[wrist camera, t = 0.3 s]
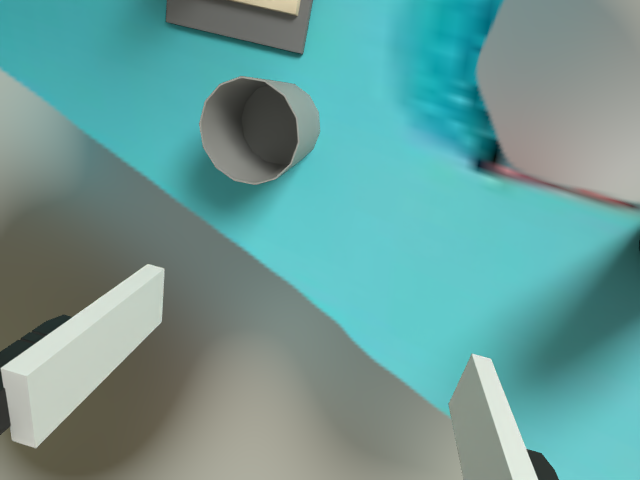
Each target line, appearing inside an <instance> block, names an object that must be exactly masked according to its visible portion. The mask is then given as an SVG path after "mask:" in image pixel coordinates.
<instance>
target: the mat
mask: <svg viewBox="0 0 640 480" xmlns="http://www.w3.org/2000/svg"><path fill="white" fill-rule="evenodd" d="M312 2H313V0H301V1H300V6H299V12H298V16H295V15H291V14H286V13H282V12H278V11H273V10H269V9H264V8H260V7H256V6H251V5H247V4H242V3H238V2H233V1H229V0H167V10H166V22H168V23H172V24H177V25H181V26H185V27H189V28H194V29H198V30H202V31H206V32H211V33H215V34H219V35H223V36H228V37H232V38H236V39H241V40H245V41H249V42H253V43H258V44H262V45H266V46H270V47H275V48H279V49H283V50H287V51H292V52H296V53H300V54H303V52H304V46H305V41H306V35H307V30H308V24H309V19H310V13H311V8H312Z"/></svg>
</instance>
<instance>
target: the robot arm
mask: <svg viewBox="0 0 640 480" xmlns="http://www.w3.org/2000/svg"><path fill="white" fill-rule="evenodd" d="M163 287H164V268H160V267H156V266H153V265H149V264H147V265H146V266H144V267H143V268H141V269H140V270H139V271H137V272H136V273H134V274H133V275H132V276H130V277H129V278H127V279H126V280H124V281H123V282H122V283H120V284H119V285H118V286H116V287H115V288H113V289H112V290H110V291H109V292H108V293H106V294H105V295H103V296H102V297H100V298H99V299H98V300H96V301H95V302H94V303H92V304H91V305H89V306H88V307H87V308H85V309H84V310H82V311H81V312H79V313H78V314H76V315H75V316H74V317H70V316H67V315H62V316H59V317H56V318H54V319H51V320H48V321H46V322H44V323H43V324H41V325H40V326H38V327H37V328H35V329H34V330H33V331H32V332H31V333H30V332H29V333H28V334H26V335H25V336H24V337H22V338H21V340H17V341H16V342H14V343H13V344H11V345H10V346H8V347H7V348H5V349H4V350H2V351H1V352H0V435H1V434H2V433H3V432H4V431H5V430H6V429H7V428H9V427H10V431H11V437H12V441H15V442H18V443H21V444H24V445H27V446H30V447H33V448H37V447H38V446H39V444H41V442H43V440H44V439H46V438H47V436H49V434H50V433H52V432H53V430H54V429H56V427H57V426H58V425H59V424H60V423H61V422H62V421H63V420H64V419H65V418H66V417H67V416H68V415H69V414H70V413H71V412H72V411H73V410H74V409H75V408H76V407H77V406H78V405H79V404H80V403H81V402H82V401H83V400H84V399H85V398H86V397H87V396H88V395H89V394H90V393H91V392H92V391H93V390H94V389H95V388H96V387H97V386H98V385H99V384H100V383H101V382H102V381H103V380H104V379H105V378H106V377H107V376H108V375H109V374H110V373H111V372H112V371H113V370H114V369H115V368H116V367H117V366H118V365H119V364H120V363H121V362H122V361H123V360H124V359H125V358H126V357H127V356H128V355H129V354H130V353H131V352H132V351H133V350H134V349H135V348H136V347H137V346H138V345H139V344H140V343H141V342H142V341H143V340H144V339H145V338H146V337H147V336H148V335H149V334H150V333H151V332H152V331H153V330H154V329H155V328H156V327H157V326H158V325H159V324H160V323H161V322H162V306H163ZM449 409H450V414H451V419H452V424H453V429H454V434H455V439H456V444H457V449H458V454H459V460H460V465H461V470H462V475H463V480H559V479H558V477H557V474H556V472H555V470H554V469H553V467H552V466H551V465H550V464H549V462H548V461H547V460H546V458H545V457H544V456H543V455H542V453H539V452H535V451H532V450H528V449H526V447H525V445H524V442H523V440H522V437H521V434H520V432H519V429H518V427H517V424H516V422H515V419H514V416H513V414H512V411H511V409H510V406H509V404H508V401H507V399H506V396H505V393H504V391H503V388H502V386H501V383H500V381H499V378H498V375H497V373H496V370H495V368H494V365H493V363H492V360H491V359H490V358H486V357H482V356H479V355H475V354H471V356H470V359H469V361H468V363H467V365H466V367H465V369H464V372H463V374H462V376H461V378H460V380H459V383H458V385H457V387H456V389H455V391H454V393H453V396H452V398H451V400H450V402H449Z"/></svg>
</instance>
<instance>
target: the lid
mask: <svg viewBox="0 0 640 480" xmlns="http://www.w3.org/2000/svg"><path fill="white" fill-rule="evenodd" d="M229 1H233V2H238V3H242V4H247V5H251V6H256V7H260V8H264V9H269V10H273V11H278V12H282V13H286V14H291V15H295V16H298V12H299V6H300V1H301V0H229Z"/></svg>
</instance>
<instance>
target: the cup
mask: <svg viewBox="0 0 640 480" xmlns="http://www.w3.org/2000/svg"><path fill="white" fill-rule="evenodd" d="M199 126H200V132H201V138H202V144H203V148H204V150H205V151H206V153H207V154H208V156H209V158H210V159H211V161H212V162H213V164H214V166H215V167H216V168H217V169H218V170H220V171H221V172H223V173H224V174H225V175H227V176H228V177H230V178H231V179H232V180H234V181H238V182H243V183H248V184H253V185H257V184H260V183H264V182H267V181H271V180H275V179H277V178H278V177H279V176H281V175H282V174H283V173H285V172H286V171H287V170H289V169H290V168H291V167H293V166H294V165H295V164H297V163H298V162H299V161H301V160H302V159H303V158H304V157H305V156H306V155H307V154H308V153H309V152H310V151H312V150H313V149H314V146H315V144H316V141H317V138H318V136H319V133H320V123H319V112H318V110H317V108H316V106H315V104H314V103H313V101H312V99H311V97H310V95H308V94H307V93H306V92H304V91H303V90H302V89H300V88H299V87H298V86H296V85H295V84H291V83H285V82H279V81H273V80H265V79H258V78H251V77H244V76H240V77H238V78H235V79H232V80H229V81H226V82H224V83H221V84H219V85H218V87H217V88H216V89H215V90H214V91H213V92H212V94H211V95H210V96H209V97H208V98H207V99H206V101H205V103H204V107H203V111H202V115H201V119H200V123H199Z"/></svg>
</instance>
